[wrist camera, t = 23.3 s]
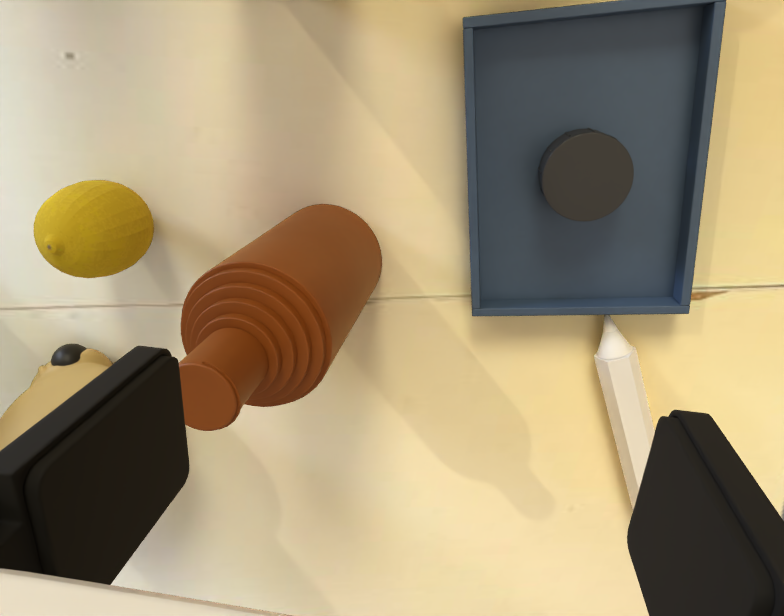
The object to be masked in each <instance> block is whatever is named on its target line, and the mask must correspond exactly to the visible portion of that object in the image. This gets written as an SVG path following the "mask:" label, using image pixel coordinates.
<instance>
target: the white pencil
mask: <svg viewBox="0 0 784 616" xmlns="http://www.w3.org/2000/svg"><path fill="white" fill-rule="evenodd" d="M594 359H595V363H596V367H597V371H598V375H599V379H600V383H601V387H602V391H603V395H604V399H605V403H606V407H607V411H608V415H609V419H610V422H611V426H612V430H613V434H614V438H615V442H616V446H617V450H618V454H619V458H620V462H621V466H622V470H623V474H624V478H625V482H626V486H627V490H628V494H629V498H630V502H631V506H632V509H633V510H634V506H635V503H636V499H637V495H638V492H639V488H640V485H641V481H642V477H643V474H644V470H645V467H646V463H647V459H648V456H649V452H650V448H651V445H652V441H653V438H654V434H655V430H654V426H653V421H652V417H651V413H650V408H649V404H648V399H647V395H646V390H645V386H644V382H643V377H642V373H641V368H640V364H639V359H638V355H637V350H636V347H634V346H631V345H630V344H629V343H628V341H627V340H626V339H625V338H624V336H623V335H622V334H621V333H620V331H619V330H618V329H617V326H616V325H615V323H614V322H613V320H612V319H611V317H610V316H609V315H604V325H603V334H602V338H601V341H600V345H599V349H598V351H597V353H596V354H595V355H594Z"/></svg>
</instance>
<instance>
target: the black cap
mask: <svg viewBox="0 0 784 616" xmlns="http://www.w3.org/2000/svg"><path fill="white" fill-rule="evenodd" d="M538 170H539V172H538V175H539V183H540V186H541V188H540V190H541V192H542V194H543V196H545V198H546V200H547V202H548V203H549V205H550V206H551V207H552V209H553V210H554V211H556V213H558V214H560V215H561V216H563V217H565V218H567V219H570V220H574V221H593V220H597V219H600V218H603V217H605V216H607V215H609V214H610V213H612V212H613V211H614V210H616V209H617V208H618V207H619V206H620V205H621V204H622V203H623V201H624V200H625V199H626V197H627V196H628V194H629V192H630V189H631V187H632V183H633V178H634V168H633V162H632V159H631V156H630V154H629V152H628V151H627V149H626V148H625V147H624V146H623V145H622V144H621V143H620V142H619V141H618V140H617V138H615V137H613V136H610V135H607V134H605V133H602V132H600V131H597V130H594V129H591V128H588V129H576V130H572V131H569V132H565V134H563V135H561V136H560V137H558V138H557V139H555V140H554V141H553V142H552V143H551V144H550V145H549V147H548V146H547V149H546V151H545V152H544V154H543V156H542V159H541V161H540V165H539V167H538Z"/></svg>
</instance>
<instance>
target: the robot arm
mask: <svg viewBox="0 0 784 616" xmlns="http://www.w3.org/2000/svg"><path fill="white" fill-rule="evenodd" d="M188 474H189V457H188V448H187V438H186V428H185V419H184V409H183V399H182V390H181V380H180V370H179V363H178V360H177V358H175V357H172V356H171V353H170V352H169V351H168V350H167V349H162V348H154V347H146V346H137V347H135V348H134V349H132V350H131V351H130V352H128V353H127V354H126V355H124V356H123V357H122V358H121V359H119V360H118V361H117V362H115V363H114V364H113V365H111V366H110V367H109V368H108V369H106V370H105V371H104V372H102V373H101V374H100V375H98V376H97V377H96V378H95V379H93V380H92V381H91V382H89V383H88V384H87V385H85V386H84V387H83V388H82V389H80V390H79V391H78V392H76V393H75V394H74V395H72V396H71V397H70V398H68V399H67V400H66V401H65V402H63V403H62V404H61V405H59V406H58V407H57V408H55V409H54V410H53V411H52V412H50V413H49V414H48V415H46V416H45V417H44V418H42V419H41V420H40V421H39V422H37V423H36V424H35V425H33V426H32V427H31V428H29V429H28V430H27V431H25V432H24V433H23V434H22V435H20V436H19V437H18V438H16V439H15V440H14V441H12V442H11V443H10V444H9V445H7V446H6V447H5V448H3V449H2V450H1V451H0V616H292V615H286V614H280V613H274V612H268V611H263V610H257V609H251V608H245V607H239V606H233V605H227V604H221V603H215V602H209V601H203V600H197V599H191V598H185V597H179V596H173V595H167V594H161V593H155V592H149V591H143V590H137V589H131V588H125V587H119V586H113V585H111V583H112V582H113V580H114V579H115V578H116V576H117V575H118V574H119V572H120V571H121V570H122V568H123V567H124V566H125V564H126V563H127V561H128V560H129V559H130V557H131V556H132V555H133V553H134V552H135V551H136V549H137V548H138V547H139V545H140V544H141V542H142V541H143V540H144V538H145V537H146V536H147V534H148V533H149V532H150V530H151V529H152V528H153V526H154V525H155V523H156V522H157V521H158V519H159V518H160V517H161V515H162V514H163V513H164V511H165V510H166V509H167V507H168V506H169V504H170V503H171V502H172V500H173V499H174V498H175V496H176V495H177V494H178V492H179V491H180V490H181V488H182V487H183V485H184V484H185V482H186V480H187V477H188ZM627 543H628V549H629V553H630V556H631V559H632V562H633V566H634V569H635V572H636V575H637V578H638V581H639V584H640V588H641V591H642V594H643V597H644V600H645V603H646V607H647V610H648V613H649V616H784V521H783V520H782V518H781V517H780V515H779V514H778V512H777V511H776V509H775V508H774V507H773V505H772V504H771V502H770V501H769V499H768V498H767V496H766V495H765V493H764V492H763V491H762V489H761V488H760V486H759V485H758V483H757V482H756V480H755V479H754V478H753V476H752V475H751V473H750V472H749V470H748V469H747V467H746V466H745V465H744V463H743V462H742V460H741V459H740V457H739V456H738V454H737V453H736V452H735V450H734V449H733V447H732V446H731V444H730V443H729V441H728V440H727V439H726V437H725V436H724V434H723V433H722V431H721V430H720V428H719V427H718V425H717V424H716V423H715V421H714V420H713V418H712V417H711V416H710V415H709V414H706V413H698V412H690V411H681V410H673V411H672V412H671V413H670V415H669V417H666V416H662V417H660V419H659V421H658V423H657V427H656V430H655V434H654V438H653V441H652V445H651V448H650V452H649V456H648V459H647V463H646V467H645V470H644V474H643V477H642V481H641V485H640V488H639V492H638V495H637V499H636V503H635V506H634V510H633V514H632V517H631V521H630V524H629V528H628V535H627Z"/></svg>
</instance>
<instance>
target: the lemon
mask: <svg viewBox="0 0 784 616" xmlns="http://www.w3.org/2000/svg"><path fill="white" fill-rule="evenodd" d="M153 233H154V223H153V218H152V215H151V212H150V210H149V208H148V206H147V204H146V203H145V202H144V201H143V199H142V198H141V197H140V196H139V195H138V194H136V193H135V192H134V191H133V190H131V189H129V188H127V187H126V186H124V185H122V184H119V183H115V182H111V181H105V180H91V181H82V182H79V183H76V184H73V185H70V186H67V187H65V188H63V189H61V190H59V191H58V192H56V193H55V194H54V195H53V196H51V197H50V198H49V199H48V200H47V201H45V202H44V204H43V205H42V206H41V208H40V209H39V211H38V213H37V215H36V218H35V222H34V238H35V242H36V245H37V247H38V249H39V251H40V253H41V254H42V255H43V257H44V258H45V259H46V260H47V261H48V262H49V263H50V264H51V265H52V266H53V267H55V268H57V269H58V270H60V271H61V272H64V273H66V274H69V275H72V276H75V277H83V278H95V277H103V276H109V275H113V274H116V273H118V272H121V271H123V270H125V269H127V268H129V267H131V266H132V265H134V264H135V263H136V262H137V261H138V260H139V259H140V258H141V257H142V256H143V255H144V254H145V253H146V251H147V250H148V248H149V246H150V244H151V242H152V238H153Z"/></svg>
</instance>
